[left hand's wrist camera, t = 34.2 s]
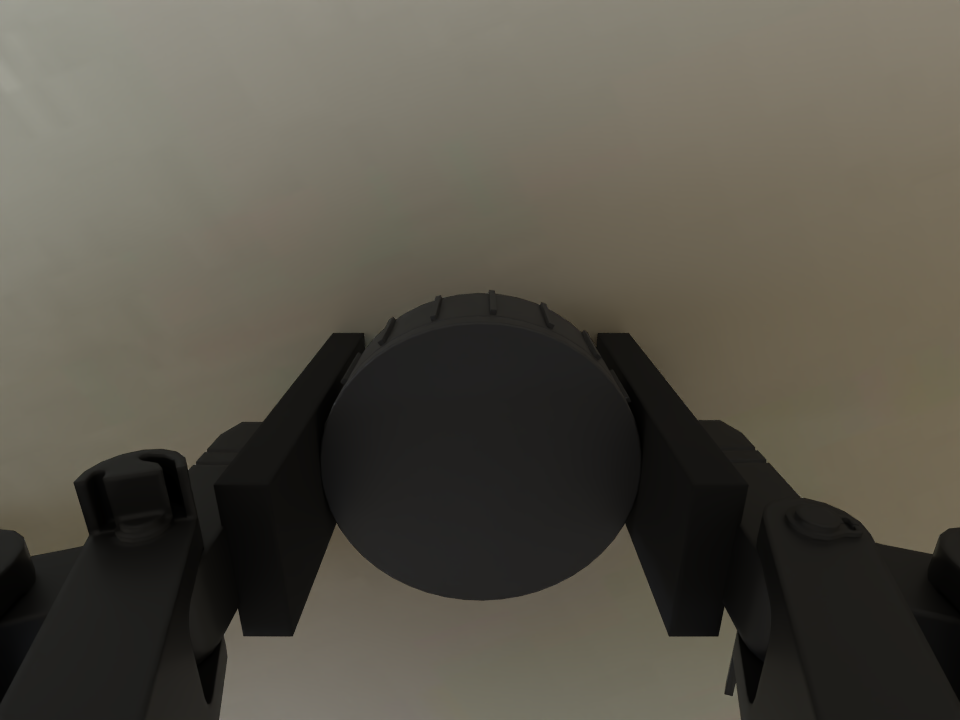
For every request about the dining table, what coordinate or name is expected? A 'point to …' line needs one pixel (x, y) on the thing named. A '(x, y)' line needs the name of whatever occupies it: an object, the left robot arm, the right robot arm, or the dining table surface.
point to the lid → (480, 449)
